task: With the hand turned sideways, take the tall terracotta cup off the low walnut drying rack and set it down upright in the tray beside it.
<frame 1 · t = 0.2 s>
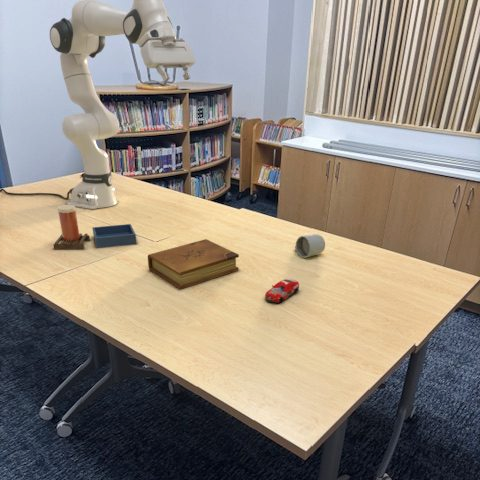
hand: (177, 79, 163), 54 cm above the table, tool tilted 30°, fingers open, 8 cm apart
tray: (114, 240, 180), on the table
cup: (71, 238, 174), point 2 cm above the table, touching drying rack
diary: (193, 270, 157), on the table
race car: (282, 296, 143), on the table
drying rack: (72, 244, 176), on the table
ceramic mug: (306, 254, 172), on the table
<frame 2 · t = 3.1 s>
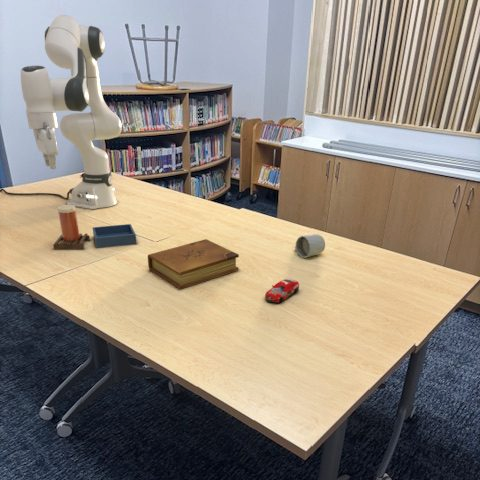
hand: (51, 167, 159), 28 cm above the table, tool pointing down, fingers open, 8 cm apart
nothing on the table moved.
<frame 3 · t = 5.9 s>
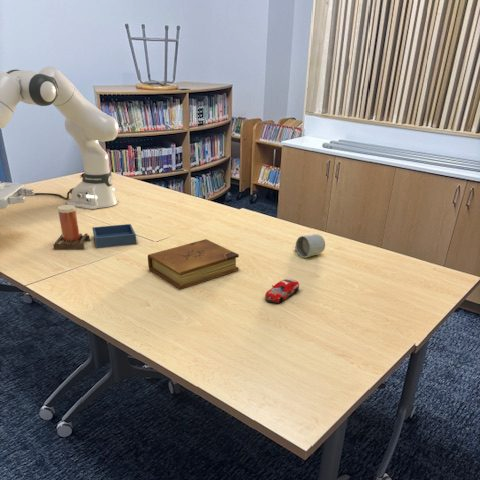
hand: (29, 196, 166), 18 cm above the table, tool horizontal, fingers open, 8 cm apart
nothing on the table moved.
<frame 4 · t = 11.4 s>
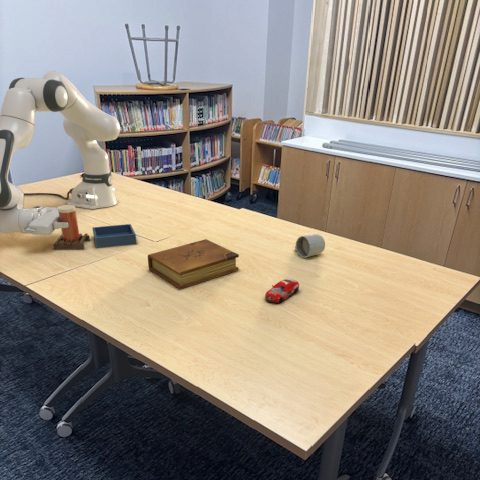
hand: (71, 221, 171), 9 cm above the table, tool horizontal, fingers closed on cup, 6 cm apart
cup: (71, 238, 174), point 3 cm above the table, touching drying rack, gripper
everything else where it was.
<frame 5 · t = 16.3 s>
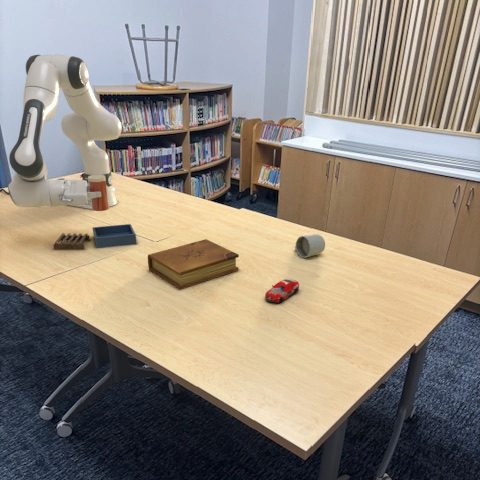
hand: (101, 191, 170), 19 cm above the table, tool horizontal, fingers closed on cup, 6 cm apart
cup: (100, 208, 172), point 13 cm above the table, touching gripper
everything else where it was.
when the fingers open (7 cm above the table, at t = 21.1 s): cup stays where it is, resting on tray.
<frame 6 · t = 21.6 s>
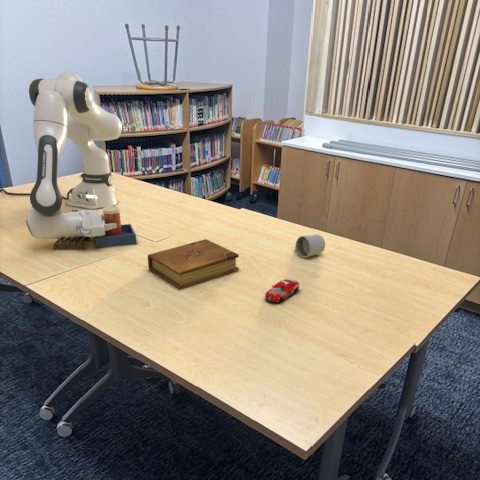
hand: (115, 221, 177), 7 cm above the table, tool horizontal, fingers open, 8 cm apart
cup: (114, 238, 180), point 1 cm above the table, touching tray
everything else where it was.
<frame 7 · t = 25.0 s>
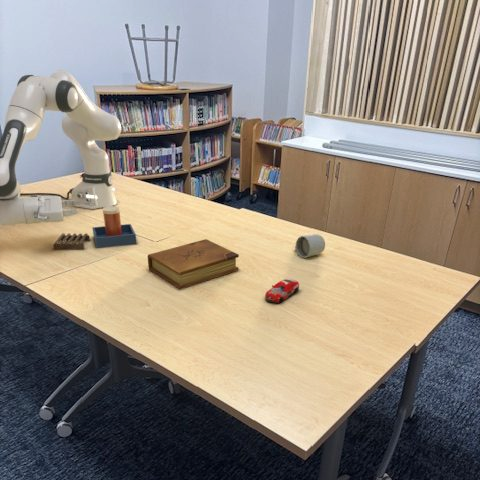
hand: (76, 207, 170), 14 cm above the table, tool horizontal, fingers open, 8 cm apart
nothing on the table moved.
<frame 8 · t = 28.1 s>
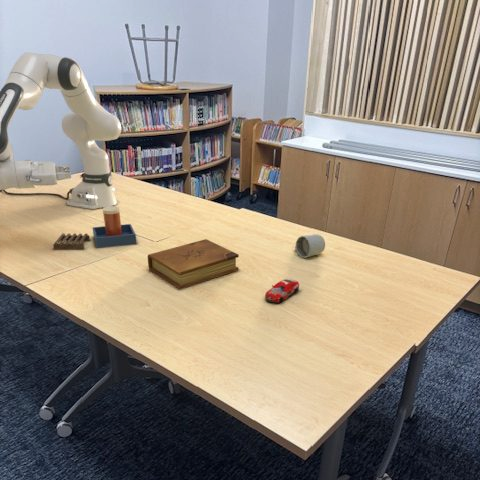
hand: (70, 172, 164), 26 cm above the table, tool horizontal, fingers open, 8 cm apart
nothing on the table moved.
at the end: cup inside the target area in the tray (0.1 cm from its centre), point 0.8 cm above the tray's base; cup tilted 0°; the gripper is holding nothing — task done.
